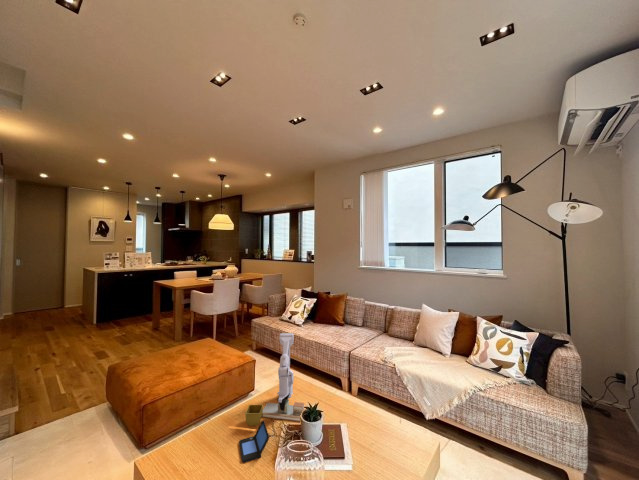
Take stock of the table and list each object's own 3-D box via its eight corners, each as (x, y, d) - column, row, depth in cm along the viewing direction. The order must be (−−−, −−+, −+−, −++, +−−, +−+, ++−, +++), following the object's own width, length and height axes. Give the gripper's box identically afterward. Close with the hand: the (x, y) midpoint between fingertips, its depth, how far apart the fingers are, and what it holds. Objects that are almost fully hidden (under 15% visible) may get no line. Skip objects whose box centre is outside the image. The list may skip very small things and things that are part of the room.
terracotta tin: (294, 411, 168) (294, 402, 168) (304, 412, 167) (304, 403, 167) (293, 415, 164) (293, 405, 164) (302, 416, 162) (302, 406, 163)
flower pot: (259, 429, 153) (259, 413, 153) (244, 429, 153) (244, 413, 153) (263, 419, 162) (263, 404, 162) (249, 419, 162) (249, 404, 162)
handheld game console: (238, 442, 142) (238, 425, 143) (263, 436, 148) (263, 419, 148) (242, 464, 128) (242, 444, 128) (269, 455, 133) (269, 436, 134)
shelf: (267, 404, 178) (267, 399, 178) (311, 408, 172) (310, 404, 172) (258, 418, 163) (258, 413, 163) (305, 423, 157) (305, 418, 158)
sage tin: (280, 408, 170) (279, 399, 170) (288, 409, 169) (288, 399, 169) (277, 412, 166) (277, 402, 166) (286, 413, 165) (286, 403, 165)
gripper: (281, 379, 176) (281, 400, 176) (273, 391, 162) (273, 413, 161) (291, 380, 175) (291, 401, 174) (284, 392, 161) (284, 415, 160)
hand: (283, 407), depth 168 cm, fingers closed on sage tin, 4 cm apart
